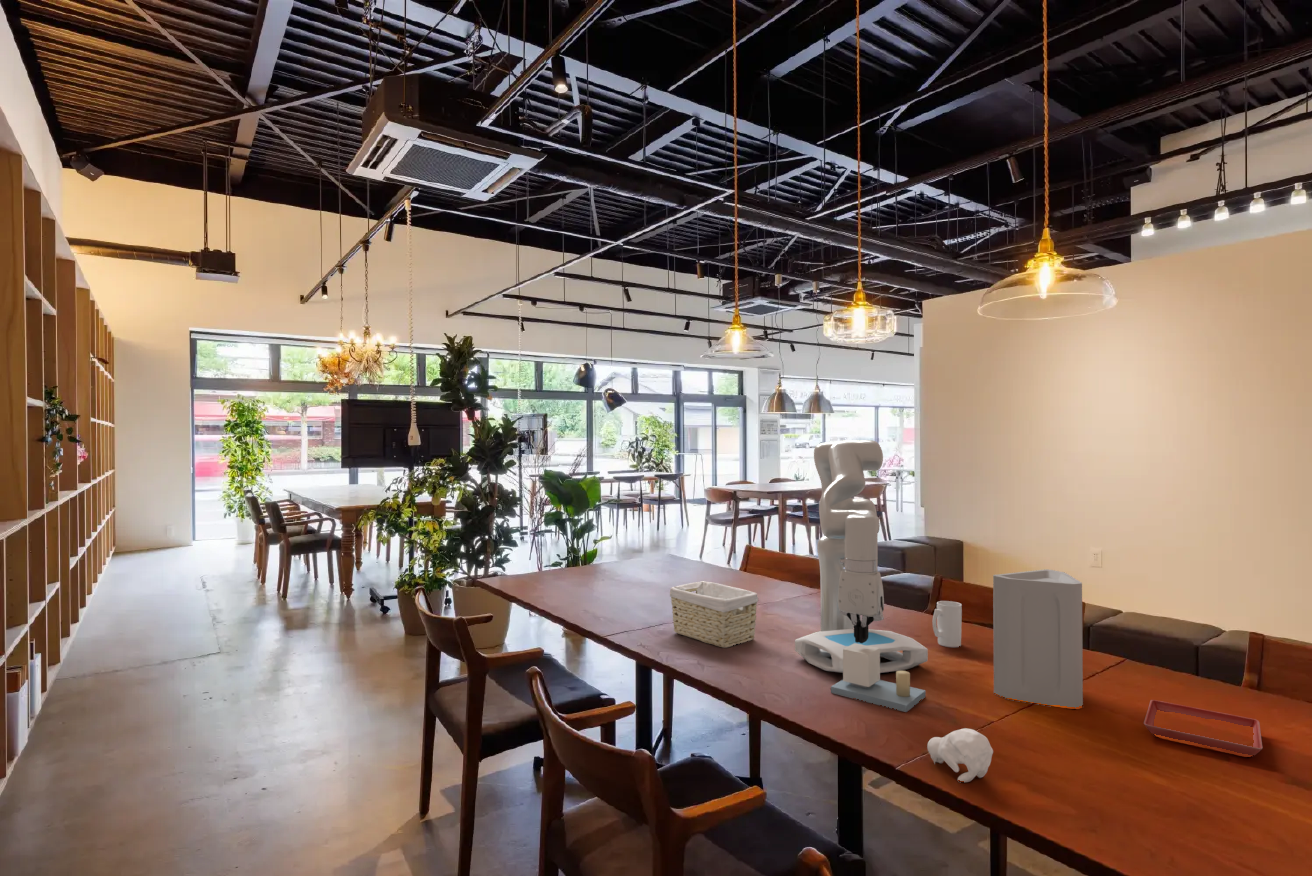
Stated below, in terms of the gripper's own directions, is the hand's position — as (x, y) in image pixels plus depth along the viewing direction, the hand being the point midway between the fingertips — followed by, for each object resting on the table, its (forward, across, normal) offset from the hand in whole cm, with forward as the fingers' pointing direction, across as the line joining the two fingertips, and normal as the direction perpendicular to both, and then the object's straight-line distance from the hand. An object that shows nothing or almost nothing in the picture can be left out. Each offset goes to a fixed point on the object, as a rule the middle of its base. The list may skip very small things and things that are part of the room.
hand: (861, 641), depth 165 cm
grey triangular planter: (+12, +36, +23) cm, 44 cm away
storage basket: (+13, -53, +13) cm, 56 cm away
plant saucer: (+12, +64, +20) cm, 68 cm away
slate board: (+12, +4, -1) cm, 12 cm away
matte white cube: (+9, 0, -1) cm, 9 cm away
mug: (+13, +4, +50) cm, 52 cm away
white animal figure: (+11, +30, -28) cm, 43 cm away
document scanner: (+12, -8, +18) cm, 23 cm away
